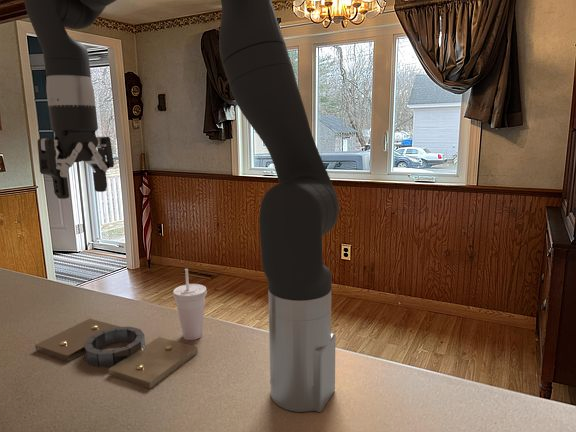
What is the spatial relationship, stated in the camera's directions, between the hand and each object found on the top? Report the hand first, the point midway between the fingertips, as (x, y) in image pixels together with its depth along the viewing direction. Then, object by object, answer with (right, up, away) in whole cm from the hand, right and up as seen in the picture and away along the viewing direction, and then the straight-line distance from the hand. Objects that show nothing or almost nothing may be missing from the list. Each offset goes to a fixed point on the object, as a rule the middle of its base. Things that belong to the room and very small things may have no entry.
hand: (83, 194), depth 78 cm
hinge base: (+6, -29, 0) cm, 30 cm away
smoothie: (+19, -28, +6) cm, 34 cm away
